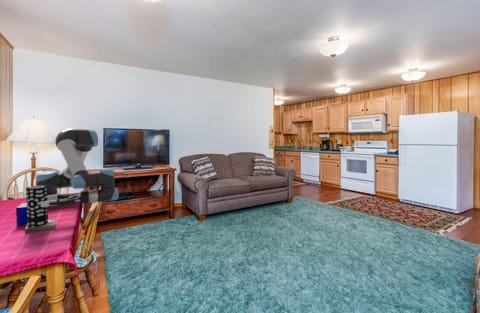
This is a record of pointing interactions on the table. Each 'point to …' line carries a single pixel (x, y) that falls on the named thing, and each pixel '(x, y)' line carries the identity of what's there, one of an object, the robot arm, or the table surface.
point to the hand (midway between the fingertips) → (41, 201)
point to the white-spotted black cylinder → (36, 206)
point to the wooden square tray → (42, 227)
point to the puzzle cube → (21, 214)
